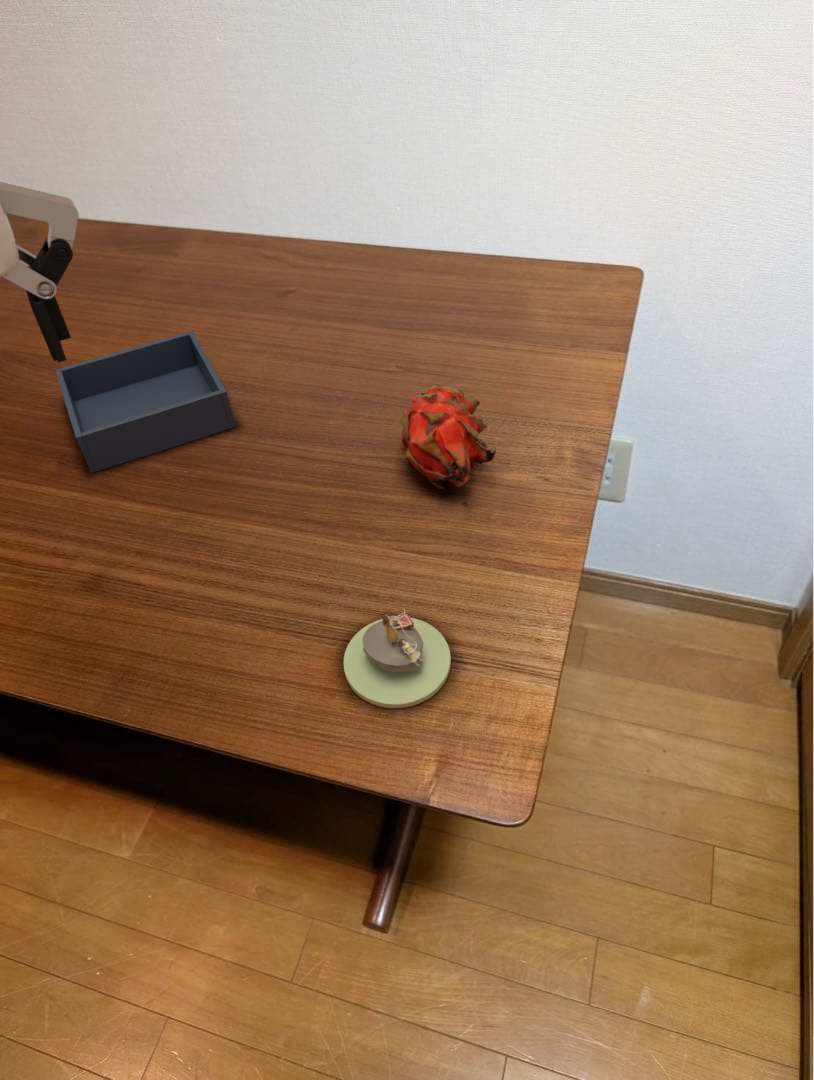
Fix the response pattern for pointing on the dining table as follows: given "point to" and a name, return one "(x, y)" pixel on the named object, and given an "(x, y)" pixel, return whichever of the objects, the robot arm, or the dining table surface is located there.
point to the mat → (398, 685)
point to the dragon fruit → (444, 435)
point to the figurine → (394, 644)
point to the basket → (144, 400)
